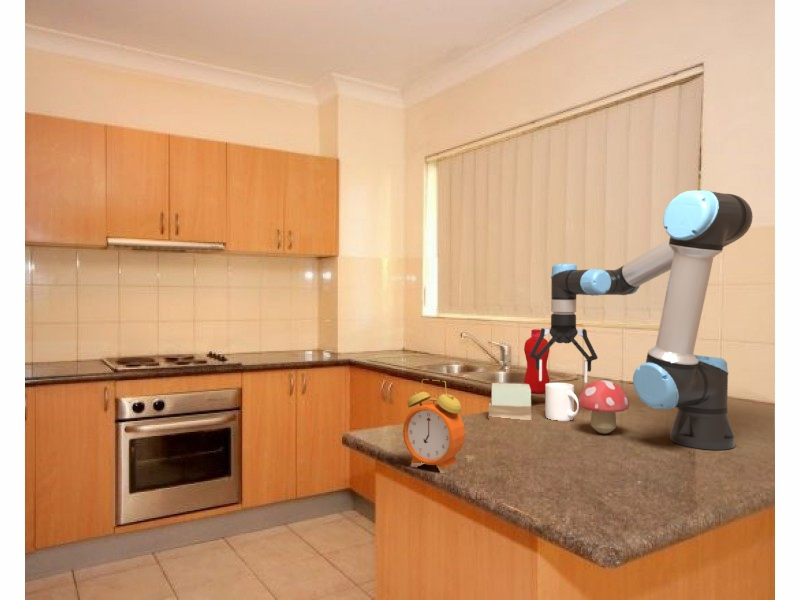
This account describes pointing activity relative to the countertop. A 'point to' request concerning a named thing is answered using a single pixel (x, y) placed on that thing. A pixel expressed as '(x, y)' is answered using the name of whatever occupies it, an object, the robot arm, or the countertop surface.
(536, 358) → the robot arm
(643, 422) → the countertop surface
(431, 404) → the alarm clock
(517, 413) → the tower base
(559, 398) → the mug
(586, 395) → the decorative mushroom
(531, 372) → the water bottle
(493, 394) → the tower top
